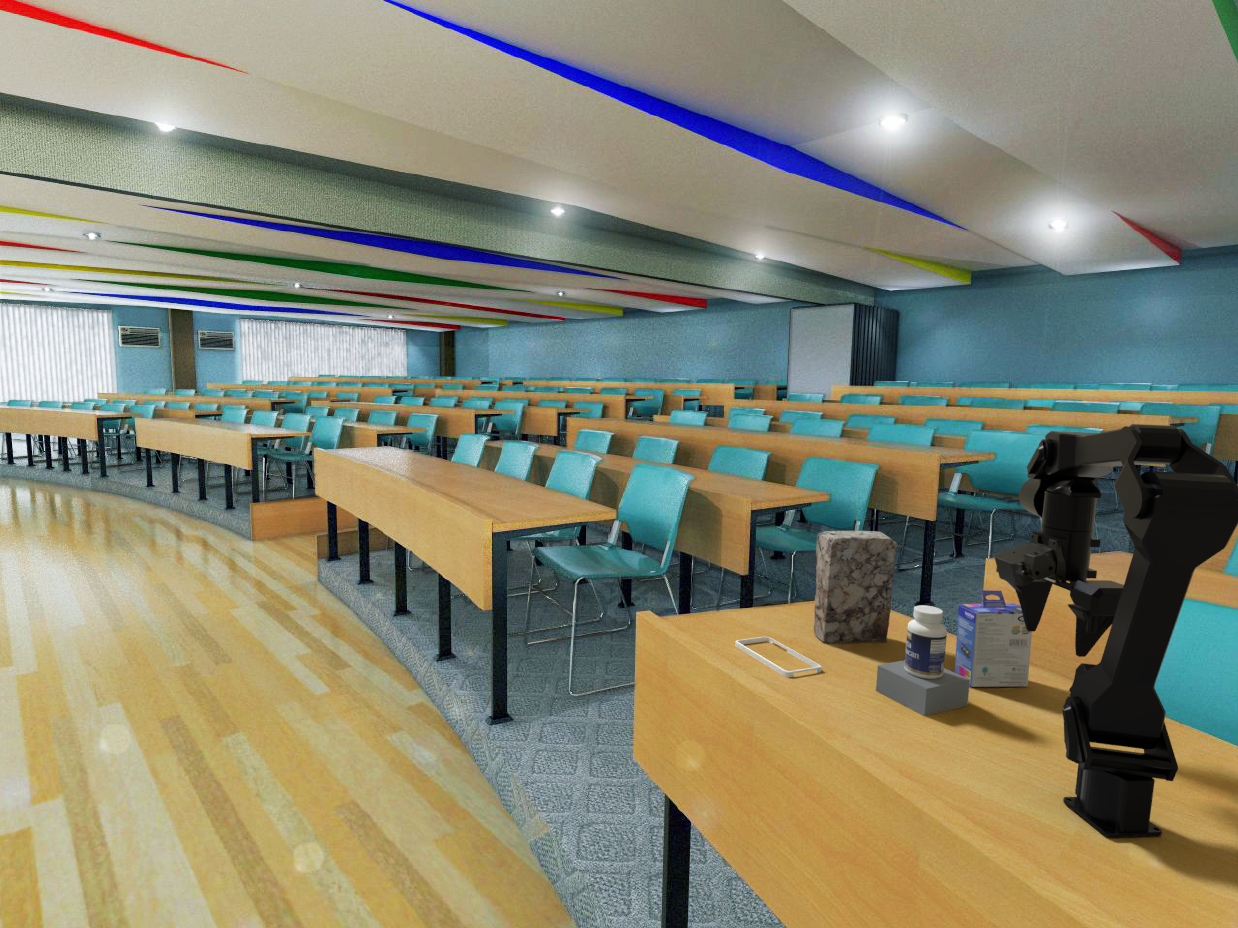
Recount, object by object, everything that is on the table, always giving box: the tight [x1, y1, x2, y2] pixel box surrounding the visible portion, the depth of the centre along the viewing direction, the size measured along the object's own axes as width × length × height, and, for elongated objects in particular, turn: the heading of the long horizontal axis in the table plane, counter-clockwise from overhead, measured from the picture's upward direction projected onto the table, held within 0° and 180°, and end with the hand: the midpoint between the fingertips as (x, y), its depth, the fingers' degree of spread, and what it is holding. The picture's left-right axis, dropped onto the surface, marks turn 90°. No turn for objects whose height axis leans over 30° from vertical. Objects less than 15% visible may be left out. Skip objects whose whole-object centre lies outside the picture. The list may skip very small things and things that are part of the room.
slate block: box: [875, 659, 970, 717], centre depth 105 cm, size 9×9×4 cm
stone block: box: [813, 530, 898, 645], centre depth 128 cm, size 13×7×20 cm, turn 103°
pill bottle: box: [904, 605, 948, 679], centre depth 104 cm, size 5×5×10 cm
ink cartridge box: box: [954, 589, 1033, 688], centre depth 111 cm, size 10×6×14 cm, turn 96°
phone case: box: [734, 636, 822, 678], centre depth 119 cm, size 7×1×15 cm
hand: (1054, 642), depth 93 cm, fingers open, 9 cm apart
